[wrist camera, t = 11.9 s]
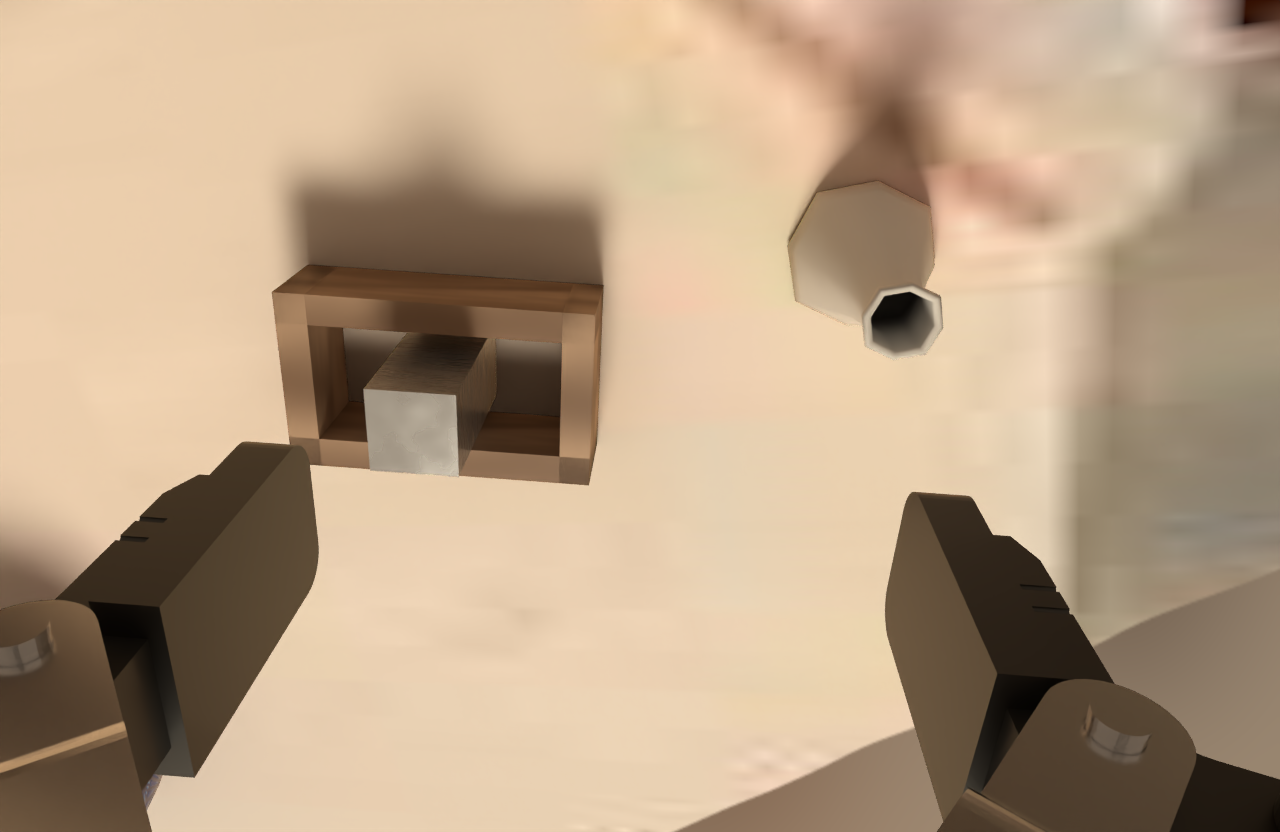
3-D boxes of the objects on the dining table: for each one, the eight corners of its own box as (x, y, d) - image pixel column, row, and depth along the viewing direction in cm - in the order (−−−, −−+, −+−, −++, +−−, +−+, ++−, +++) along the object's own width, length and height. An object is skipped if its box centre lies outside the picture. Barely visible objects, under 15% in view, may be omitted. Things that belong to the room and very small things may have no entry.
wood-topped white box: (418, 318, 48) (363, 388, 40) (495, 323, 48) (455, 395, 40) (422, 389, 49) (369, 470, 41) (496, 394, 49) (458, 476, 41)
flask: (915, 331, 47) (969, 417, 38) (773, 313, 47) (793, 394, 38) (952, 189, 44) (1021, 244, 35) (801, 169, 44) (830, 220, 35)
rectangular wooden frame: (307, 264, 47) (271, 292, 43) (603, 285, 46) (595, 314, 42) (324, 424, 51) (292, 463, 47) (596, 444, 50) (588, 485, 46)
